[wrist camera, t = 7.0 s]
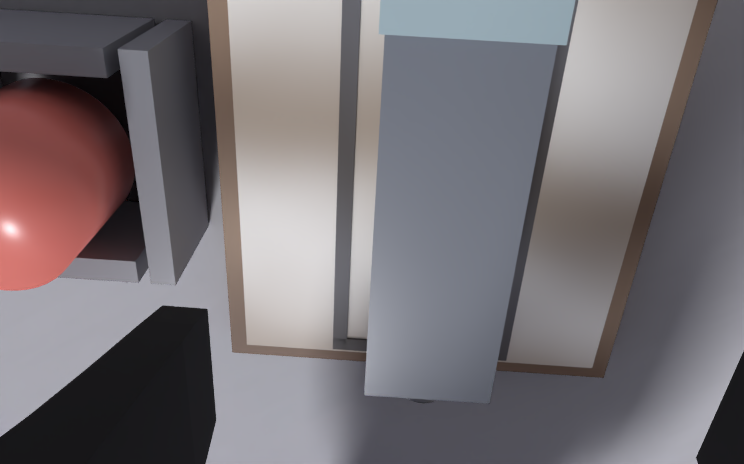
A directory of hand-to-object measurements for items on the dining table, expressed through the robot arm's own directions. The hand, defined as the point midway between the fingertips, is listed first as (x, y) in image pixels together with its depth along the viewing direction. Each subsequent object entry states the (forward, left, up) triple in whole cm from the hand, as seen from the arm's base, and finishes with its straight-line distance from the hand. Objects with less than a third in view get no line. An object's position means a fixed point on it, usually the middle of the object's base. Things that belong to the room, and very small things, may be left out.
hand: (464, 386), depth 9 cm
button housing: (0, +9, -9) cm, 13 cm away
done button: (0, +9, -7) cm, 11 cm away
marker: (0, 0, -8) cm, 8 cm away
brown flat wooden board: (0, 0, -9) cm, 9 cm away
